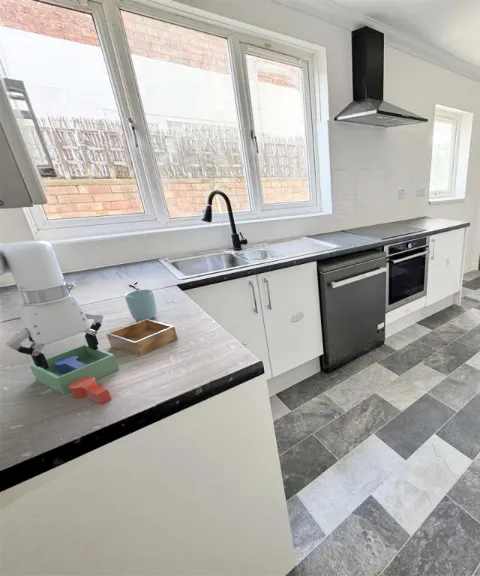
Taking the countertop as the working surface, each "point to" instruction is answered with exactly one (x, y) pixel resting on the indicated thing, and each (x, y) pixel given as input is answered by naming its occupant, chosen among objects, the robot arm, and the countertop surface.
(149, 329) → the oak bin
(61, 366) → the blue block
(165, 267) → the countertop surface
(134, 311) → the cup
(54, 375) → the sage bin
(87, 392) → the red t-shaped block
